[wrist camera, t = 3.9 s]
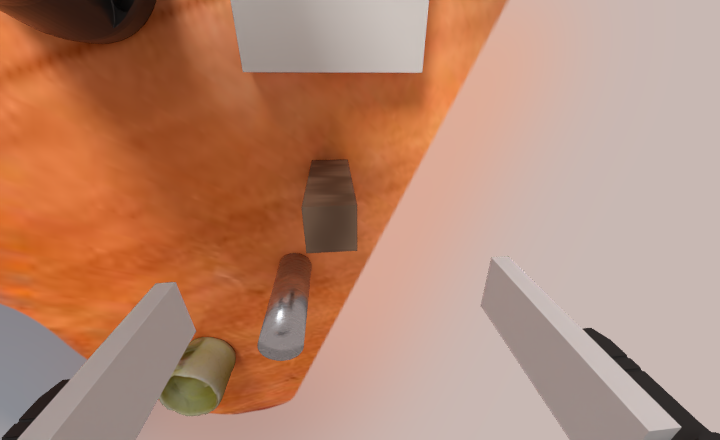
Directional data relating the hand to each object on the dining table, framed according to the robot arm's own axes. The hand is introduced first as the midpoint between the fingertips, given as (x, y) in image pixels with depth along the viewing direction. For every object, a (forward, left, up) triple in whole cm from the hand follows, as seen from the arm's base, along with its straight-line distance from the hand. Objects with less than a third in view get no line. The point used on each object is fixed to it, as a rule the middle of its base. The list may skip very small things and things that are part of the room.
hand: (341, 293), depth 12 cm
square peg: (-1, -3, -26) cm, 26 cm away
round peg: (-7, -17, -26) cm, 32 cm away
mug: (-24, -33, -26) cm, 48 cm away
